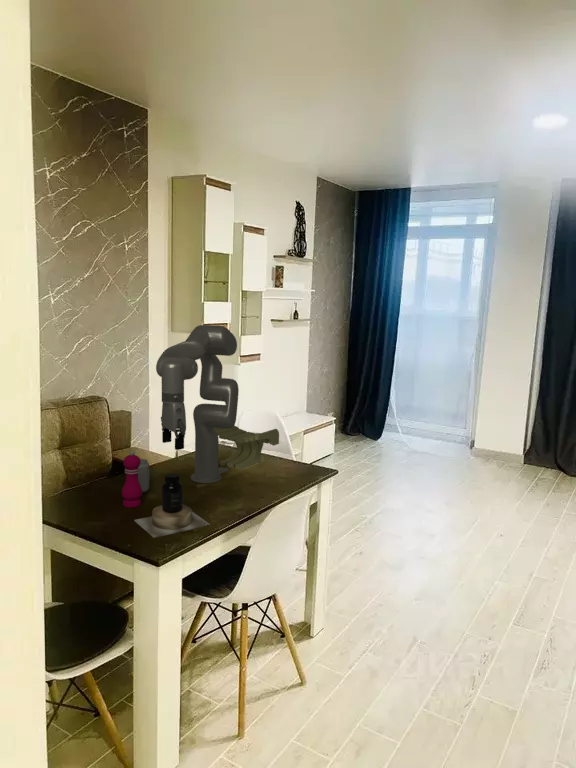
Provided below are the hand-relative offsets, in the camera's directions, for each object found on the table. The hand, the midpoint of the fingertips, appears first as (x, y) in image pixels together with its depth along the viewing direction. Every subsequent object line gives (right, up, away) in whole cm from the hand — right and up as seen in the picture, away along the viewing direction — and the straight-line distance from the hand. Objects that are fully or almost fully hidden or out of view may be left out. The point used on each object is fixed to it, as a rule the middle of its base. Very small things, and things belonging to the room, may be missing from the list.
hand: (173, 445), depth 207 cm
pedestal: (+1, -25, -6) cm, 26 cm away
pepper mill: (-17, -23, +10) cm, 30 cm away
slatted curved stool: (+18, -15, +65) cm, 69 cm away
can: (-18, -20, +25) cm, 36 cm away
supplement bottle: (+1, -21, -6) cm, 22 cm away
